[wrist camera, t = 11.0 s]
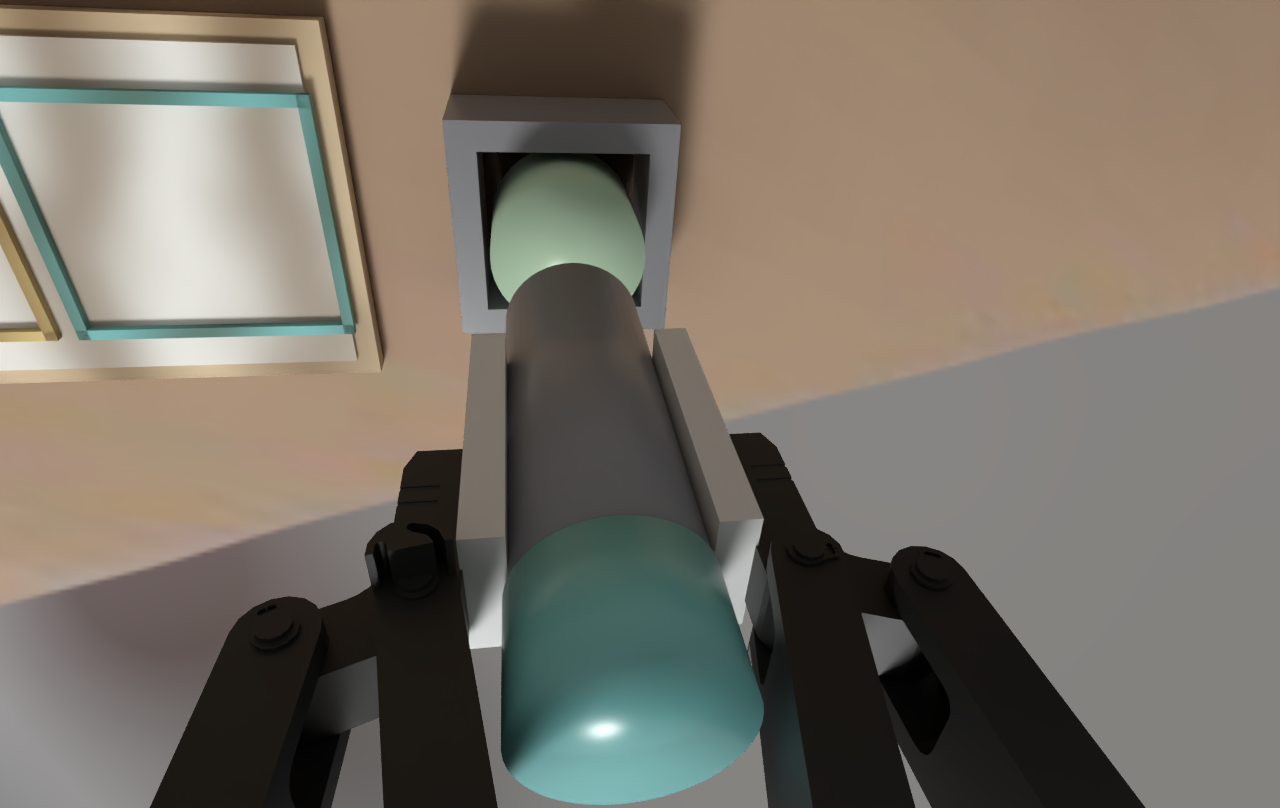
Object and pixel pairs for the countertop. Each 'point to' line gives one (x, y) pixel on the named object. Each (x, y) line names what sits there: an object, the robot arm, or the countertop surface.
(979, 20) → the countertop surface
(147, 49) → the double window tray
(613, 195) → the button
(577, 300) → the teal marker
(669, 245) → the button housing
